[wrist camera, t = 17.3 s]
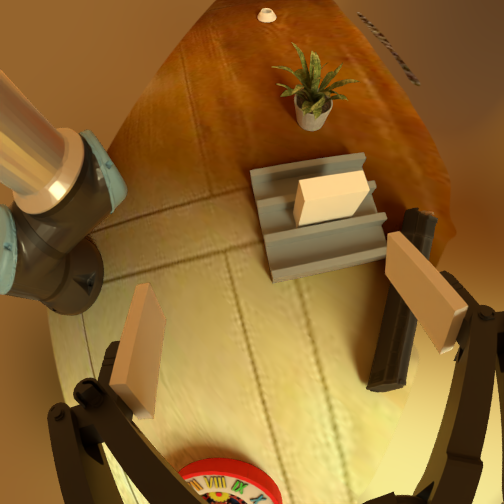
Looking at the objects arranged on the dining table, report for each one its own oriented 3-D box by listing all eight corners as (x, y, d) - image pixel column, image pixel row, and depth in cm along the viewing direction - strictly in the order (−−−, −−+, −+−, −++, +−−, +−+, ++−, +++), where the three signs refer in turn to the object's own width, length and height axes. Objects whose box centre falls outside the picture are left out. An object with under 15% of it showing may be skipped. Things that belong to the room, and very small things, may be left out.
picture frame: (349, 220, 50) (369, 190, 39) (297, 230, 50) (304, 201, 39) (343, 202, 51) (362, 168, 40) (292, 211, 51) (298, 178, 40)
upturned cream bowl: (280, 18, 67) (266, 12, 68) (280, 10, 64) (266, 4, 65) (267, 25, 66) (253, 19, 67) (267, 17, 63) (253, 11, 64)
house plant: (254, 110, 58) (249, 50, 43) (308, 84, 60) (315, 26, 44) (298, 159, 55) (306, 101, 39) (353, 128, 56) (373, 71, 41)
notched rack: (387, 258, 50) (396, 251, 46) (272, 283, 50) (273, 278, 46) (357, 164, 54) (363, 152, 50) (251, 182, 55) (249, 170, 50)
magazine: (396, 418, 36) (464, 206, 33) (376, 415, 36) (445, 198, 34) (371, 371, 53) (418, 214, 50) (355, 368, 53) (402, 209, 51)
